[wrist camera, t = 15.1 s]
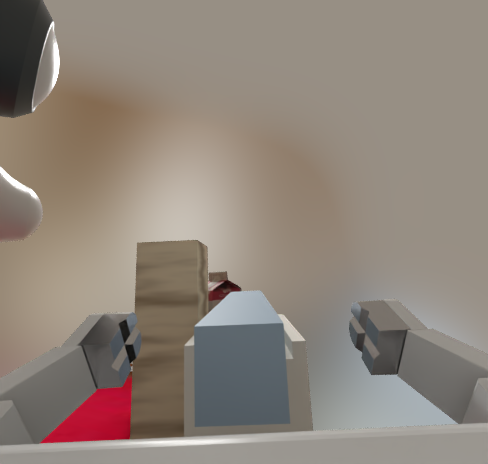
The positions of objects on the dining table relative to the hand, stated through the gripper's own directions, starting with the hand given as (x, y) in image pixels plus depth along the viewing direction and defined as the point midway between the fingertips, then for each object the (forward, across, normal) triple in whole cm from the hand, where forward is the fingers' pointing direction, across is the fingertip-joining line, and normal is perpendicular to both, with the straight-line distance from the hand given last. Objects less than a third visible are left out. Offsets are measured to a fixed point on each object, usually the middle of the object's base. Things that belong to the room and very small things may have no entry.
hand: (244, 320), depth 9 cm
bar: (+9, 0, +10) cm, 14 cm away
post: (+13, +10, +30) cm, 34 cm away
